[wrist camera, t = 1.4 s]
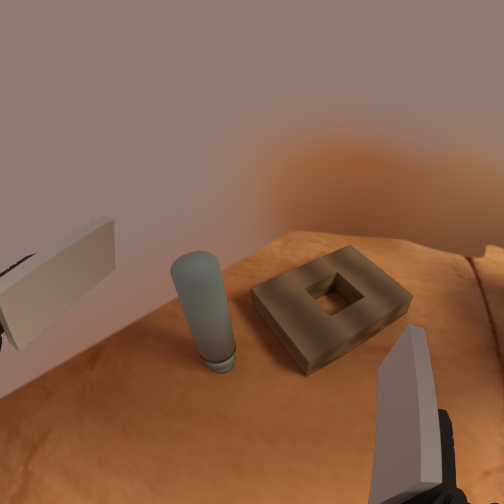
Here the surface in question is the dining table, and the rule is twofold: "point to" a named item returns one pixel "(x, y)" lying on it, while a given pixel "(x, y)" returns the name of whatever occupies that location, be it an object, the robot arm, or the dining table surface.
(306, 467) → the dining table surface
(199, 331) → the grey rounded cylinder
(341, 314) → the board
